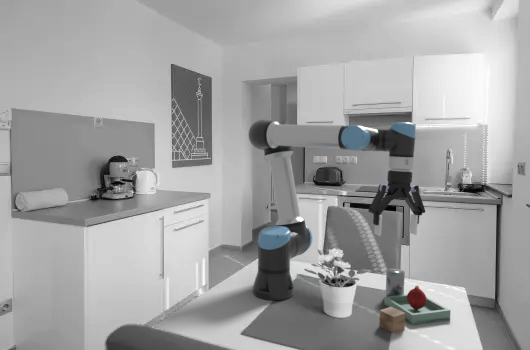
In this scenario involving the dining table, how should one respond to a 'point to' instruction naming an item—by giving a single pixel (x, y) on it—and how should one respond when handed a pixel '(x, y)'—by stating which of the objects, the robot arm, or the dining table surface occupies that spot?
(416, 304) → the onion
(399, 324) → the walnut block
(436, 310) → the tray
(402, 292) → the metal can
